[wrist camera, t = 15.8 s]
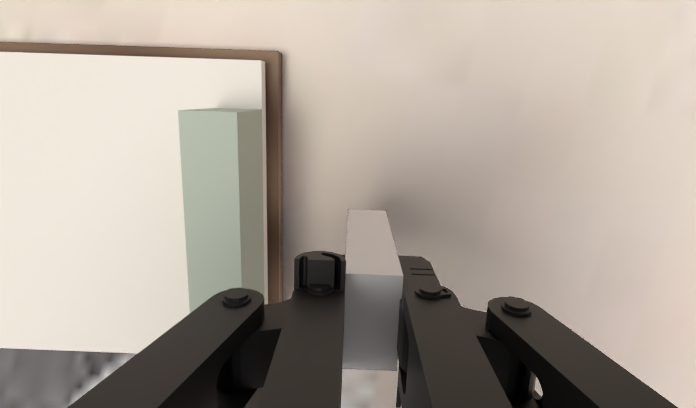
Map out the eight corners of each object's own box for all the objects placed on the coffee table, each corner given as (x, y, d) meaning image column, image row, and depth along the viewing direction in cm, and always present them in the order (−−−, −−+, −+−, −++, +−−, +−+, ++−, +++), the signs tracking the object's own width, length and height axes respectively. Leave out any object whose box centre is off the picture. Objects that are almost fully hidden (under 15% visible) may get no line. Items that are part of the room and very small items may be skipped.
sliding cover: (268, 349, 22) (245, 416, 17) (-4, 338, 22) (-99, 402, 18) (265, 62, 19) (235, 49, 14) (-55, 51, 19) (-189, 35, 14)
